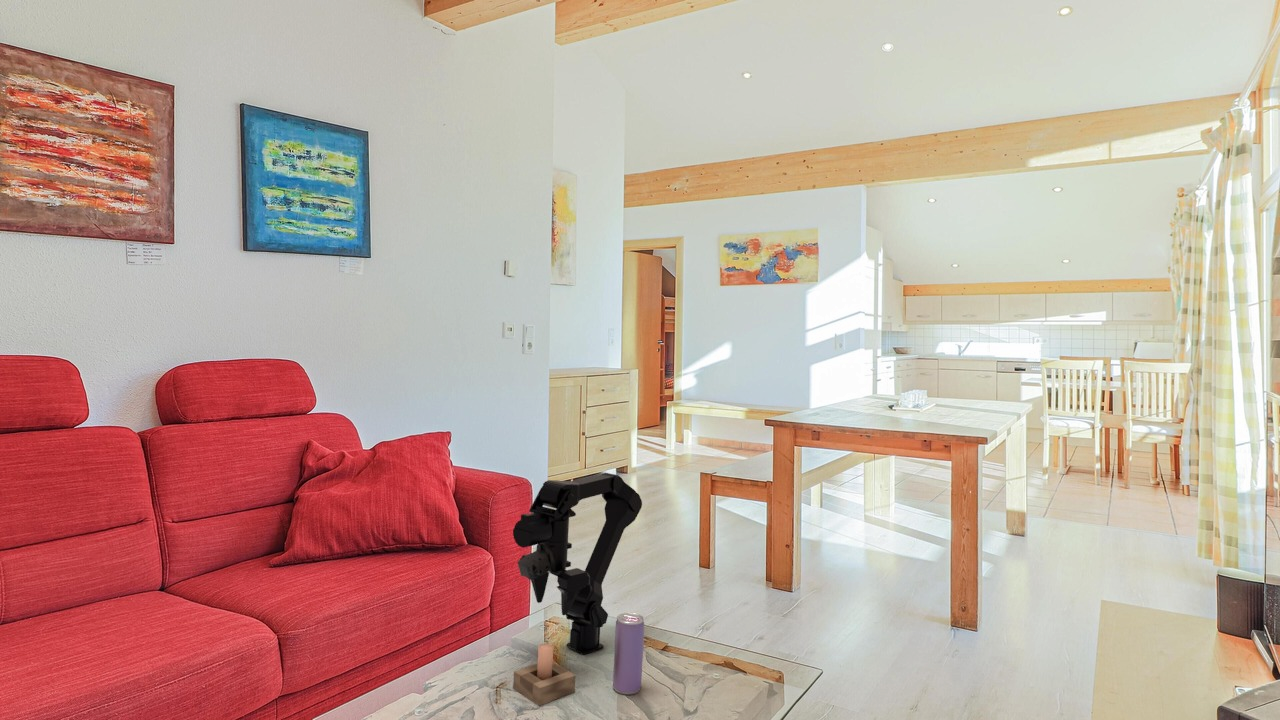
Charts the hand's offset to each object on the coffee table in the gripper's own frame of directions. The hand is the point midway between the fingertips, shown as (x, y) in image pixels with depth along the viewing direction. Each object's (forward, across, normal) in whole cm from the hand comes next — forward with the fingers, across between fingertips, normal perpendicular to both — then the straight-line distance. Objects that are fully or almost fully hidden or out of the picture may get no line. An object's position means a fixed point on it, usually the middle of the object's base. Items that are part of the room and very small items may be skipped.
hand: (551, 608), depth 160 cm
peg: (+12, +9, -8) cm, 17 cm away
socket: (+12, +9, -8) cm, 17 cm away
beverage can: (+13, +19, +6) cm, 24 cm away
